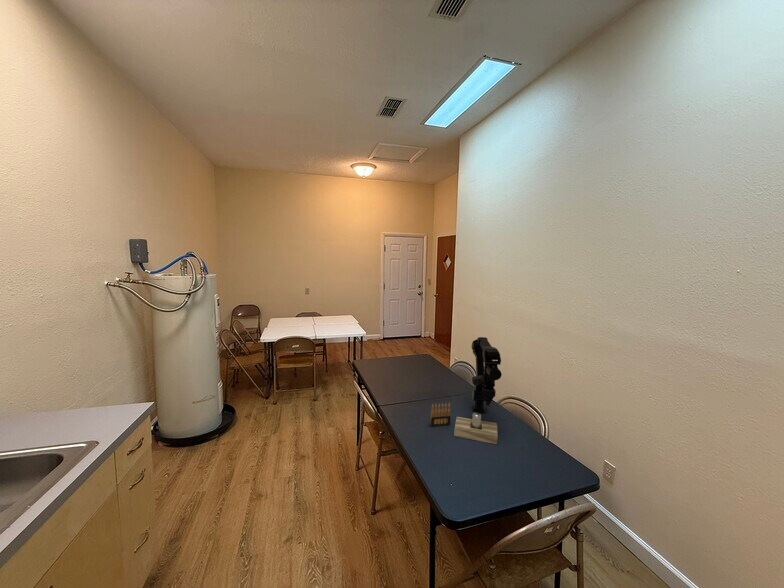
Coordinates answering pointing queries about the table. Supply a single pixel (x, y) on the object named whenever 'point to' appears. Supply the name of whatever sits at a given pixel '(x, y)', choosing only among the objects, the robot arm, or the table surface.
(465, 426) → the hole block
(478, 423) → the metal peg
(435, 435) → the table surface
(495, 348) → the robot arm
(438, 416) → the ammunition clip
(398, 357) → the table surface
